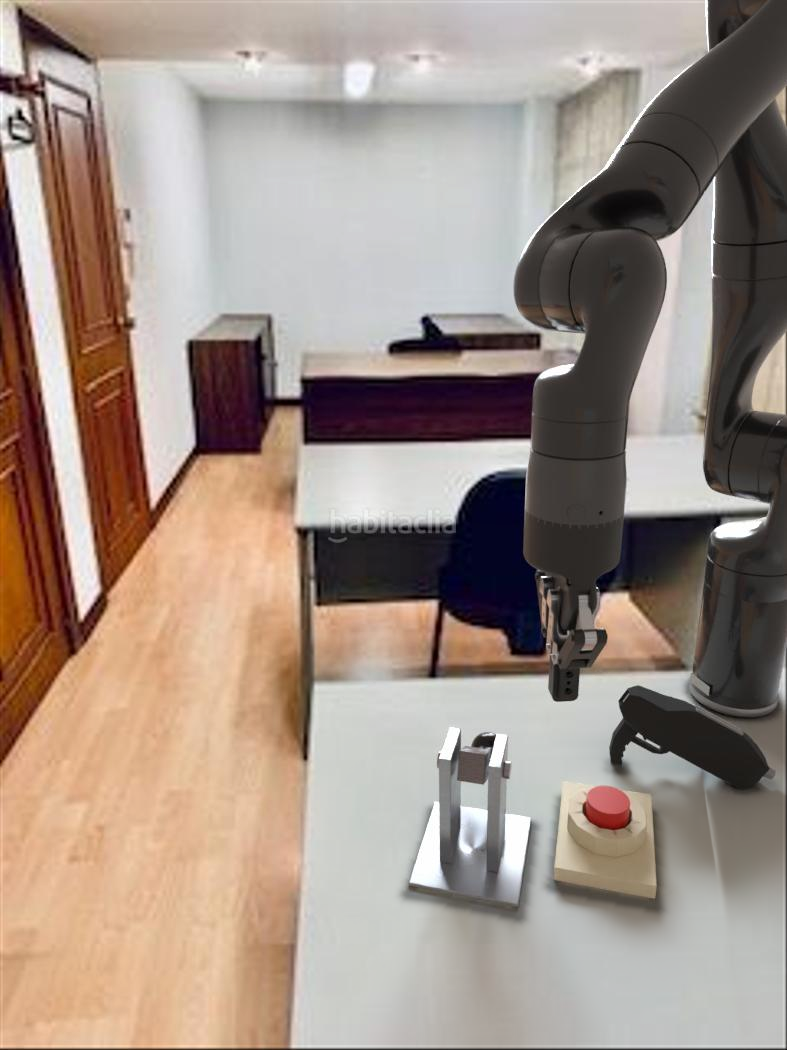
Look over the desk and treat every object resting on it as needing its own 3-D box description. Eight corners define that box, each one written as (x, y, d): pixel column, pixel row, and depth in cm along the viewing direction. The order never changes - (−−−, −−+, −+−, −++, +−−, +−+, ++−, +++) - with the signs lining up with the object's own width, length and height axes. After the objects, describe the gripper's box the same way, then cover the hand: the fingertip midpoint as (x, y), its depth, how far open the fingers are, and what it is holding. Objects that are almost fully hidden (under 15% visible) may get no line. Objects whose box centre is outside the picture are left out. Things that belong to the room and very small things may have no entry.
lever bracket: (435, 811, 72) (433, 705, 68) (530, 827, 70) (535, 719, 66) (408, 893, 63) (405, 777, 59) (517, 915, 61) (522, 796, 57)
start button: (586, 798, 68) (587, 782, 67) (628, 805, 67) (629, 789, 66) (584, 826, 65) (585, 810, 64) (628, 834, 64) (630, 817, 63)
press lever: (472, 761, 73) (475, 728, 74) (505, 767, 72) (508, 732, 73) (450, 784, 62) (453, 744, 62) (489, 791, 61) (492, 750, 61)
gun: (729, 834, 76) (793, 766, 72) (585, 757, 76) (641, 684, 72) (723, 814, 78) (785, 747, 74) (584, 740, 78) (638, 668, 74)
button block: (561, 799, 73) (564, 765, 72) (649, 813, 71) (653, 778, 70) (553, 888, 63) (555, 850, 62) (654, 907, 61) (658, 868, 60)
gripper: (654, 532, 53) (633, 741, 59) (595, 477, 65) (583, 654, 71) (547, 538, 52) (537, 747, 58) (508, 481, 65) (503, 659, 71)
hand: (562, 696), depth 65 cm, fingers closed
